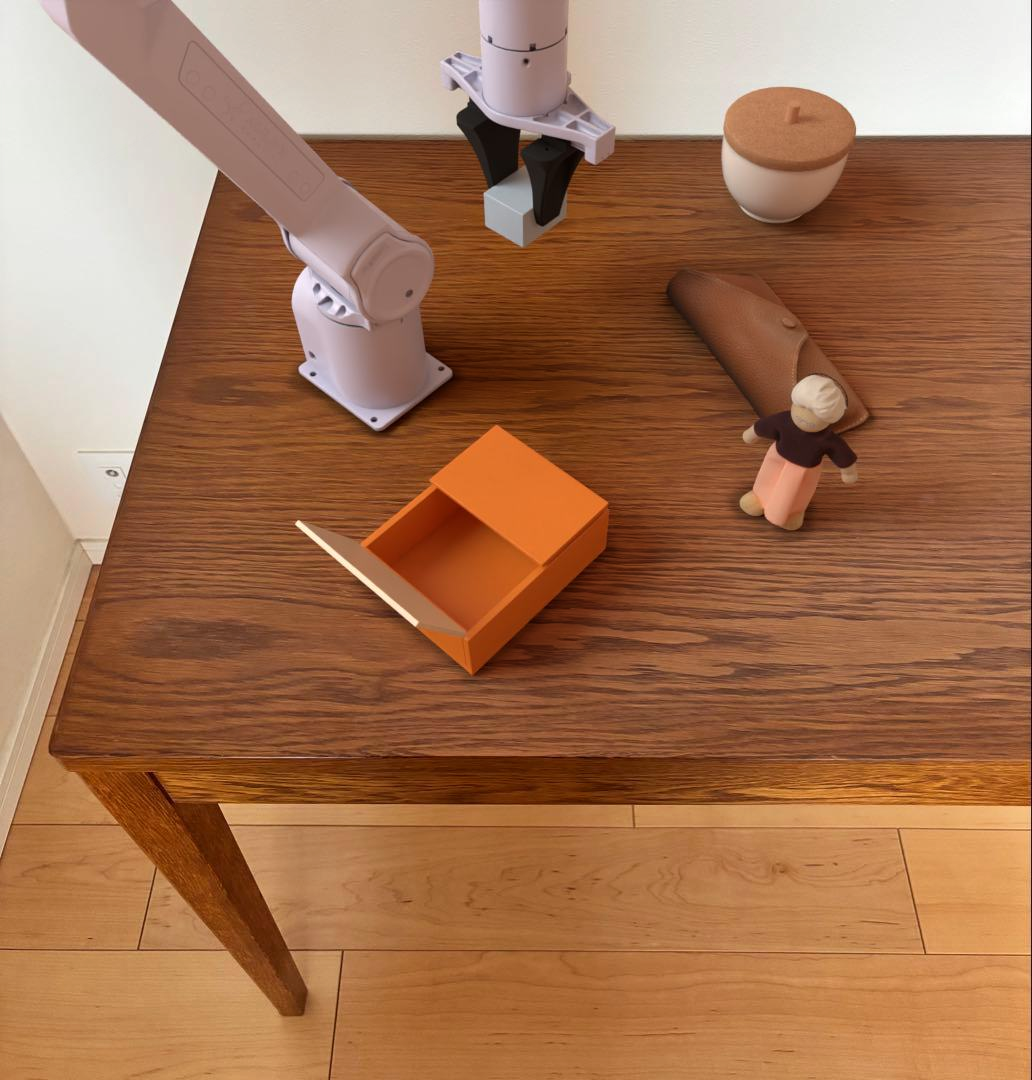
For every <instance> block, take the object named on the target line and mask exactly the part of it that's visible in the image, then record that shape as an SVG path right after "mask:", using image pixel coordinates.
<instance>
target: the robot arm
mask: <svg viewBox="0 0 1032 1080" xmlns="http://www.w3.org/2000/svg"><path fill="white" fill-rule="evenodd" d="M38 2H39V4H40V6H41V8H42V9H43V10H44V12H45V13H46V15H48V17H49V18H50V19H51V21H53V23H54V24H55V25H56V26H57V27H58V28H60V29H61V30H62V31H63V32H64V33H65V34H66V35H68V36H69V37H70V38H71V39H72V40H73V41H74V42H75V43H76V44H77V45H79V47H81V48H82V49H83V50H84V51H85V52H86V53H87V54H88V55H90V56H91V57H92V58H93V59H94V60H95V61H97V62H98V63H99V64H100V65H101V66H102V67H103V68H104V69H106V70H107V71H108V72H109V73H110V74H111V75H112V76H113V77H115V78H116V79H117V80H118V81H119V82H120V83H121V84H122V85H123V86H125V87H126V88H127V89H128V90H129V91H130V92H131V93H132V94H133V95H135V96H136V97H137V98H138V99H139V100H140V101H141V102H143V103H144V104H145V105H146V106H147V107H149V109H150V110H151V111H152V112H154V113H155V114H156V115H157V116H158V117H159V118H160V119H161V120H163V121H164V122H165V123H166V124H167V125H168V126H170V127H171V128H172V130H174V131H175V132H176V133H178V134H179V135H180V137H182V138H183V139H184V140H185V141H187V143H188V144H190V145H191V146H192V147H193V148H194V149H195V150H196V151H197V152H199V153H200V154H201V155H202V156H203V157H205V159H206V160H207V161H209V163H211V164H212V165H213V166H214V167H215V168H217V169H218V170H219V171H220V172H221V173H222V174H223V175H224V176H225V177H226V178H228V179H229V180H230V181H231V182H232V183H233V184H235V185H236V187H238V188H239V189H240V190H241V191H242V192H244V193H245V194H246V195H247V196H248V197H249V198H250V199H251V200H252V201H253V202H255V203H256V204H257V205H258V206H259V207H260V208H262V210H264V211H265V213H266V214H267V215H268V216H270V218H272V219H273V220H274V221H275V223H276V224H277V226H278V227H279V229H280V232H281V236H282V239H283V243H284V245H285V247H286V249H287V250H288V251H289V253H290V254H291V255H292V256H293V257H294V258H296V259H297V260H299V261H301V262H303V263H305V264H306V267H305V268H304V269H303V270H302V271H301V272H300V274H299V275H298V277H297V279H296V280H295V283H294V287H293V290H292V295H291V308H292V312H293V316H294V319H295V323H296V327H297V330H298V335H299V337H300V342H301V346H302V349H303V352H304V356H305V359H306V361H305V362H303V363H302V364H300V365H299V366H298V373H299V375H300V376H301V377H303V378H305V379H306V380H307V381H309V382H310V383H311V384H313V385H314V386H315V387H317V388H318V389H319V390H320V391H322V392H324V393H325V395H327V396H328V397H330V398H331V399H333V400H334V401H335V402H337V404H339V405H340V406H342V407H343V408H345V409H346V410H347V411H349V412H350V413H351V414H353V415H354V416H355V417H356V418H358V419H359V420H360V421H362V422H363V423H365V425H367V426H369V428H371V429H372V430H374V431H375V432H382V431H384V430H386V429H387V428H388V427H389V426H390V425H392V424H393V423H394V422H396V421H397V420H398V419H400V418H401V417H402V416H403V415H405V414H406V413H407V412H409V411H410V410H411V409H413V408H414V407H415V406H416V405H418V404H419V403H420V402H422V401H423V400H424V399H426V398H427V397H428V396H429V395H431V394H432V393H433V392H435V391H436V390H437V389H439V388H440V387H441V386H442V385H444V384H445V383H446V382H447V381H449V380H451V378H452V377H453V370H452V369H451V368H450V367H448V366H447V365H446V364H444V363H443V362H441V361H440V360H438V359H437V358H435V357H434V356H432V355H431V354H429V352H427V351H426V345H425V338H424V330H423V323H422V315H421V308H420V307H421V306H420V303H422V301H423V300H424V298H425V297H426V295H427V293H428V291H429V288H430V287H431V286H432V285H431V284H432V281H433V279H434V273H435V263H436V262H435V256H434V253H433V250H432V248H431V247H430V245H429V244H428V243H427V242H426V241H425V240H424V239H423V238H421V237H419V236H418V235H415V234H412V233H410V231H408V230H407V229H406V228H404V227H403V226H402V225H400V224H399V223H398V222H397V221H395V220H394V219H393V218H391V216H389V215H388V214H386V213H385V212H384V211H383V210H382V209H380V208H379V207H378V206H377V205H376V204H373V202H372V201H370V200H368V198H366V197H365V196H363V195H362V194H361V193H360V192H358V189H357V188H356V187H355V186H354V185H353V184H352V183H351V182H350V181H349V180H347V179H346V178H344V177H341V176H339V175H337V173H335V171H333V170H332V168H330V166H328V164H327V163H326V162H325V161H324V160H323V159H322V158H321V156H319V154H317V153H316V152H315V151H314V149H312V147H311V146H310V145H309V144H308V143H307V142H306V141H305V140H304V139H303V138H302V137H301V136H300V135H299V134H298V133H297V131H296V130H294V128H292V125H290V124H289V123H288V122H287V121H286V120H285V119H284V118H283V117H282V116H281V114H280V113H279V112H278V111H276V109H275V108H274V107H273V106H272V105H271V104H270V103H269V102H268V101H267V100H266V99H265V98H264V97H263V95H261V94H260V93H259V91H258V90H257V89H256V88H255V87H254V86H253V85H252V84H251V83H250V82H249V81H248V79H246V77H245V76H244V75H243V74H242V73H241V72H240V71H239V70H238V69H237V68H236V67H235V66H234V65H233V64H232V63H231V61H229V59H228V58H226V56H225V55H224V54H223V53H222V52H221V51H220V49H218V48H217V47H216V45H215V44H213V42H212V41H211V40H209V38H208V37H207V36H206V35H205V34H204V33H203V31H201V30H200V29H199V28H198V27H197V26H196V25H195V24H194V22H193V21H192V20H191V19H190V18H189V17H188V16H187V15H186V14H185V13H184V12H183V11H182V9H180V8H179V6H177V4H176V3H175V2H173V0H38ZM569 7H570V0H478V14H479V15H478V16H479V38H480V39H479V40H480V56H476V55H474V54H473V55H472V54H469V53H467V52H464V51H462V50H457V51H455V52H453V53H451V54H450V55H448V56H446V57H445V58H443V59H441V60H440V61H439V64H440V76H441V86H442V87H443V88H444V89H446V90H449V91H450V92H451V91H453V92H454V91H456V90H457V89H460V90H462V91H464V92H465V94H466V95H467V96H468V101H467V103H466V105H467V106H466V107H464V108H463V109H461V110H459V112H457V114H456V115H455V117H456V125H457V127H458V128H459V130H461V132H462V133H463V135H464V136H465V137H466V139H467V141H468V143H469V144H470V146H471V148H472V150H473V152H474V154H475V156H476V158H477V160H478V163H479V165H480V168H481V170H482V173H483V176H484V179H485V182H486V185H487V188H488V190H489V189H490V188H492V187H493V186H495V185H496V184H498V183H499V182H501V181H502V180H504V179H505V178H507V177H508V176H510V175H511V174H513V173H514V172H515V171H517V170H518V169H519V155H520V157H521V159H522V161H523V163H524V165H526V168H527V171H528V174H529V178H530V182H531V187H532V198H533V212H534V217H535V221H536V224H538V225H540V226H541V227H544V226H545V225H547V224H548V223H549V222H551V221H552V220H554V219H555V218H556V217H558V216H559V215H560V211H561V207H562V204H563V200H564V197H565V194H566V191H567V192H568V188H569V185H570V183H571V181H572V178H573V176H574V174H575V172H576V170H577V168H578V167H579V165H580V162H581V160H582V159H583V157H584V160H585V161H586V162H588V163H590V164H592V165H594V166H597V165H598V164H599V163H601V162H603V161H604V160H606V159H608V157H610V156H611V155H612V154H613V153H614V152H615V142H616V131H617V129H616V128H617V127H616V126H615V125H613V124H611V123H609V122H608V121H606V120H605V119H603V118H602V117H601V116H599V115H598V114H597V113H596V111H594V110H593V109H592V108H591V107H590V106H589V105H588V104H587V103H586V102H585V101H584V100H583V99H582V98H581V97H580V96H579V95H578V94H577V93H576V92H575V91H574V90H573V89H572V88H571V87H570V85H571V84H572V73H571V72H570V71H569V70H568V47H569V12H570V11H569ZM522 131H525V132H530V133H535V134H538V135H541V137H538V138H537V139H535V140H533V141H532V142H530V143H528V144H527V145H526V146H525V147H523V148H521V149H520V148H519V147H520V139H521V132H522ZM519 149H520V150H519ZM519 151H520V152H519ZM519 153H520V154H519Z"/></svg>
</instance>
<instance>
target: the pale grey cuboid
mask: <svg viewBox="0 0 1032 1080" xmlns="http://www.w3.org/2000/svg"><path fill="white" fill-rule="evenodd" d="M483 204H484V205H483V206H484V225H485V227H486V228H488V229H489V230H491V231H493V232H494V233H497V234H498V235H500V236H501V237H503V238H505V239H507V240H509V241H510V242H512V243H514V244H516V245H517V246H519V247H521V248H522V249H524V248H525V247H527V246H529V245H531V243H532V242H534V241H536V239H538V238H539V237H541V236H542V235H543V234H545V233H546V232H547V231H549V230H550V229H551V228H553V227H554V226H556V225H557V224H559V223H560V222H561V221H563V220H564V219H565V218H567V212H568V211H567V210H568V209H567V206H568V190H567V191H566V194H565V197H564V200H563V204H562V207H561V211H560V215H559V216H558V217H556V218H555V219H554V220H552V221H551V222H549V223H548V224H547V225H545V226H544V227H541V226H540V225H538V224H536V221H535V217H534V212H533V198H532V187H531V182H530V178H529V174H528V171H527V168H526V165H525V164H524V165H523V166H521V167H520V168H518V170H517V171H515V172H514V173H513V174H511V175H510V176H508V177H507V178H505V179H504V180H502V181H501V182H499V183H498V184H496V185H495V186H493V187H492V188H490V189H489V188H488V189H487V190H486V191H484V192H483Z"/></svg>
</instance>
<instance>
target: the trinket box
mask: <svg viewBox="0 0 1032 1080" xmlns="http://www.w3.org/2000/svg"><path fill="white" fill-rule="evenodd" d="M722 131H723V134H722V135H723V136H722V141H721V142H722V143H721V152H720V155H721V156H720V157H721V158H720V160H721V171H722V178H723V180H724V184H725V187H726V189H727V190H728V192H729V194H730V196H731V197H732V198H733V200H734V201H735V202H736V203H737V205H738V206H739V207H740V209H741V211H743V212H744V214H746V215H747V216H749V217H750V218H752V219H754V220H757V221H759V222H762V223H769V224H784V223H785V224H786V223H791V222H792V221H796V220H797V219H799V218H800V217H801V216H803V215H805V214H807V213H808V212H810V211H812V210H814V209H815V208H817V207H818V206H819V205H821V204H822V203H823V202H824V201H825V200H826V199H827V198H828V197H829V195H830V194H831V193H832V191H833V189H834V188H835V187H836V185H837V183H838V181H840V178H841V176H842V174H843V172H844V169H845V166H846V164H847V160H848V157H849V155H850V151H851V150H852V148H853V146H854V145H853V144H854V142H855V138H856V135H857V125H856V121H855V120H854V117H853V115H852V114H851V112H850V111H849V110H848V109H847V108H846V107H845V106H844V105H843V104H842V103H841V102H839V101H837V100H836V99H834V98H833V97H830V96H828V95H827V94H824V93H821V92H818V91H816V90H811V89H808V88H803V87H795V86H770V87H769V86H768V87H764V88H759V89H756V90H752V91H750V92H748V93H745V94H743V95H741V96H740V97H738V98H737V99H735V101H734V102H733V103H732V104H730V106H728V108H727V110H726V112H725V115H724V120H723V129H722Z"/></svg>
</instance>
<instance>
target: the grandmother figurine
mask: <svg viewBox="0 0 1032 1080" xmlns="http://www.w3.org/2000/svg"><path fill="white" fill-rule="evenodd" d="M791 397H792V401H793V404H792V407H791V410H788V411H782V412H779V413H776V414H773V415H770V416H767V417H765V418H762V419H760V418H759V419H757V420H756V421H755V422H754V423H753V424H752V425H751V426H750V427H749V428H747V429H746V430H745V431H744V432H743V434H742V440H743V442H744V443H745V444H747V445H753V444H755V443H757V442H758V440H761V439H762V438H765V439H768V440H771V441H774V442H773V443H772V444H771V445H770V447H769V448H768V450H767V452H766V454H765V457H764V458H763V461H762V464H761V466H760V469H759V471H758V472H757V475H756V478H755V481H754V484H753V487H752V490H750V491H747V493H744V495H743V496H741V498H740V499H739V507H740V508H741V510H742V511H743V512H744V513H746V514H747V515H749V516H752V517H760V516H762V515H764V517H765V519H766V520H767V521H769V522H770V524H772V525H775V526H778V527H780V528H781V529H784V530H786V531H796V530H798V529H800V528H801V527H802V526H803V523H804V518H805V513H806V512H805V511H806V510H807V508H808V506H809V504H810V502H811V500H812V498H813V496H814V494H815V492H816V489H817V487H818V483H819V481H820V478H821V475H822V471H823V466H824V456H825V455H826V456H827V457H828V458H829V460H830V462H832V463H833V464H834V465H835V466H836V467H837V468H838V469H839V472H840V476H841V477H840V478H841V480H842V482H843V483H845V484H846V485H852V484H855V483H856V482H857V481H858V480H859V473H858V471H857V464H856V463H857V461H858V455H857V454H856V452H854V450H853V449H852V448H851V446H850V445H849V444H848V443H847V441H846V440H845V439H844V438H843V437H842V436H840V434H839V435H837V434H836V433H834V432H833V431H832V430H831V428H830V427H829V426H828V425H829V424H830V423H835V422H837V421H838V420H839V419H840V418H841V417H842V416H843V414H844V411H845V409H847V407H846V404H845V399H844V396H843V394H842V392H841V390H840V389H839V388H838V387H837V386H836V385H835V384H834V382H833V381H832V380H831V379H829V378H824V377H820V376H817V375H811V376H808V377H806V378H804V379H803V380H801V381H800V382H799V383H798V384H797V385H796V386H795V387H794V389H793V391H792V395H791Z"/></svg>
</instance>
